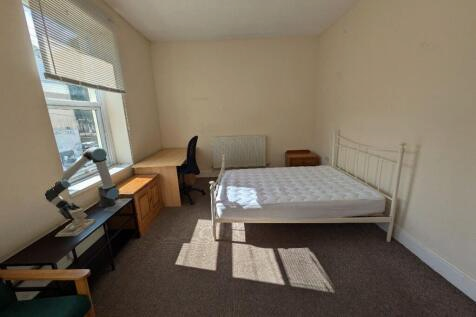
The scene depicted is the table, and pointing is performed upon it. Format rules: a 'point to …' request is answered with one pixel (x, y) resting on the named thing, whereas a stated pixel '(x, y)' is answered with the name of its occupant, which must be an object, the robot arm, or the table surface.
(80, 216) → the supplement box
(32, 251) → the table surface
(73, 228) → the keyhole tray
